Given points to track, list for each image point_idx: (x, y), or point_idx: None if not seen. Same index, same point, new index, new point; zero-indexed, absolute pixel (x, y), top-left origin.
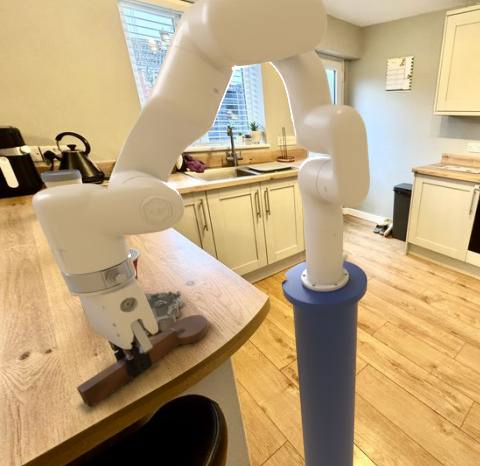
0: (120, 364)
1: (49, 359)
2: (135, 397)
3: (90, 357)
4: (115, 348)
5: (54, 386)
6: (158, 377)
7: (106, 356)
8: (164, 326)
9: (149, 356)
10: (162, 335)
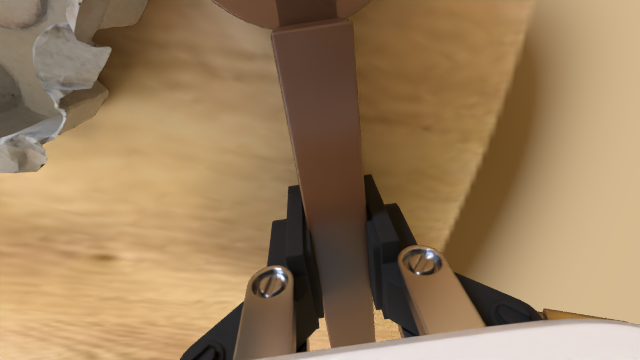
0: (357, 301)
1: (32, 334)
2: (436, 241)
3: (111, 271)
4: (308, 348)
5: (191, 339)
6: (431, 172)
7: (146, 241)
8: (122, 6)
9: (380, 199)
10: (321, 113)
